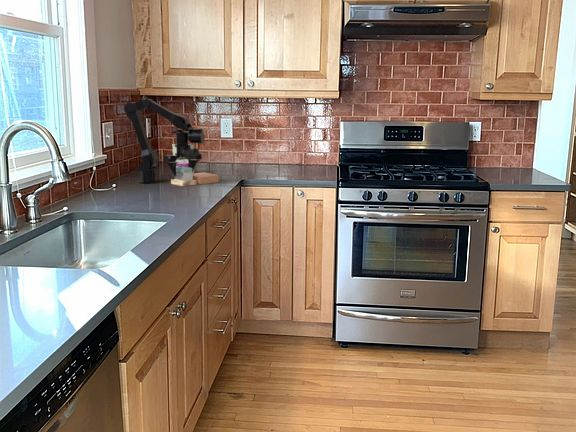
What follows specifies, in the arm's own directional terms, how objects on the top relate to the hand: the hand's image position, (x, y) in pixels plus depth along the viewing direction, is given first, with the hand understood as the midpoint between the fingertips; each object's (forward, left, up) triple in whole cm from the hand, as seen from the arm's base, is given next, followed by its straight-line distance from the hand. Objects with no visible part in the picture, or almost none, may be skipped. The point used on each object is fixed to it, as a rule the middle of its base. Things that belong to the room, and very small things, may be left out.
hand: (183, 175), depth 274 cm
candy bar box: (+17, +25, -5) cm, 30 cm away
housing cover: (0, 0, +2) cm, 2 cm away
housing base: (0, 0, -2) cm, 2 cm away
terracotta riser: (+11, 0, -4) cm, 12 cm away
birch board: (0, 0, -4) cm, 4 cm away
